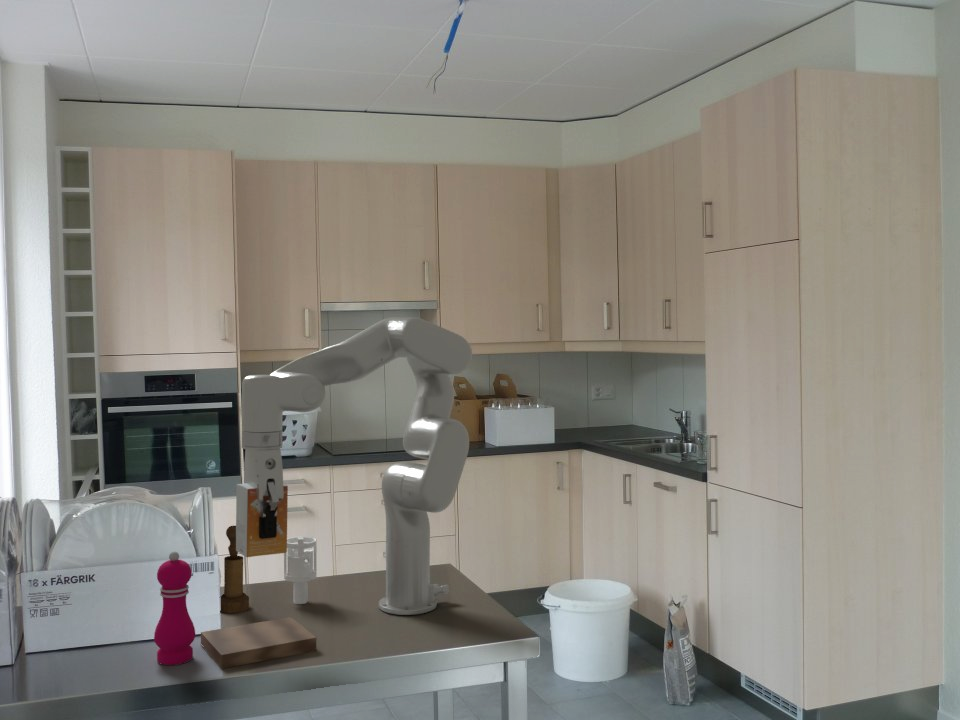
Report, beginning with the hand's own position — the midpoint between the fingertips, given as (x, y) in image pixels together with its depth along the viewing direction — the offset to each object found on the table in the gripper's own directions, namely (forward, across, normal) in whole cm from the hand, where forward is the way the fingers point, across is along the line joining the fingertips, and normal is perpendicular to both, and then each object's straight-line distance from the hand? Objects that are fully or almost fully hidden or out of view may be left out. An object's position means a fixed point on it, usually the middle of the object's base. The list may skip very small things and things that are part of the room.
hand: (261, 533), depth 176 cm
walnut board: (+22, 0, 0) cm, 22 cm away
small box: (+4, 0, 0) cm, 4 cm away
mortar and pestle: (+22, +26, -3) cm, 34 cm away
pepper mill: (+22, +2, +16) cm, 27 cm away
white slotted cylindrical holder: (+22, +23, -16) cm, 36 cm away
